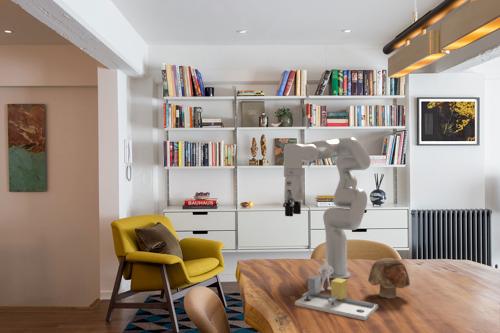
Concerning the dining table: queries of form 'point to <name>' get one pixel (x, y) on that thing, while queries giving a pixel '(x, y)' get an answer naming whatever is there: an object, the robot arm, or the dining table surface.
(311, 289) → the rail
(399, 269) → the sculpture
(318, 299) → the hole plate
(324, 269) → the figurine
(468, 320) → the dining table surface
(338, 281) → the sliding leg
